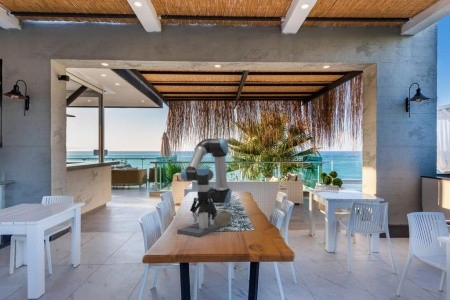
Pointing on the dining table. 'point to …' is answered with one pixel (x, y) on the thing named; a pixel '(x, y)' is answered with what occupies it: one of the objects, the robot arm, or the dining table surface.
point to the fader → (203, 220)
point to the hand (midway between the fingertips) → (203, 223)
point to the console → (197, 230)
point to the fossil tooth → (222, 219)
